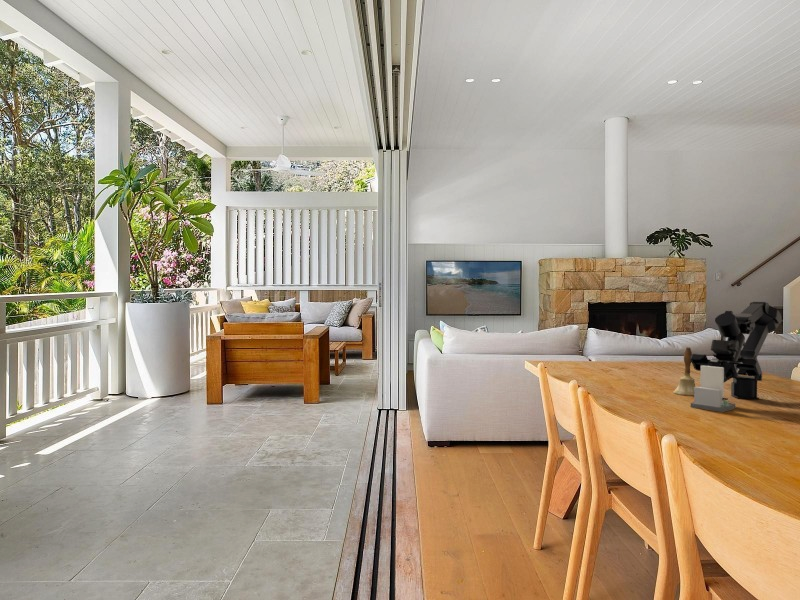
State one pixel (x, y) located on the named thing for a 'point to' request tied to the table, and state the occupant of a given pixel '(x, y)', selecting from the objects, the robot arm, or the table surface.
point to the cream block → (713, 379)
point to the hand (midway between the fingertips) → (716, 385)
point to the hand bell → (686, 377)
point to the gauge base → (710, 400)
